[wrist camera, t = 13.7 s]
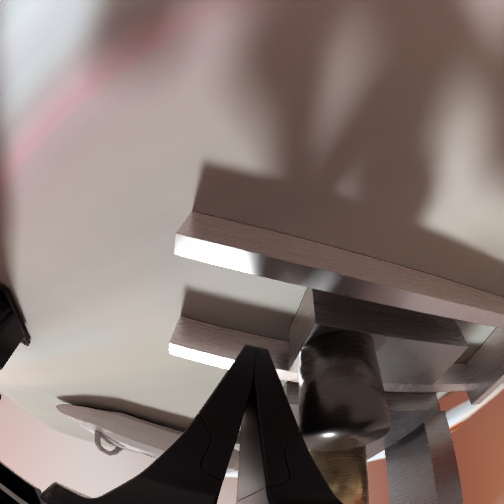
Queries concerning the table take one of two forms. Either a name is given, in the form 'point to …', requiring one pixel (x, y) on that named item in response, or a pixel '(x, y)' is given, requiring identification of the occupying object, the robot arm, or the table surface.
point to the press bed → (412, 449)
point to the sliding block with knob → (361, 364)
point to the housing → (345, 473)
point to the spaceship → (128, 432)
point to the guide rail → (339, 282)
